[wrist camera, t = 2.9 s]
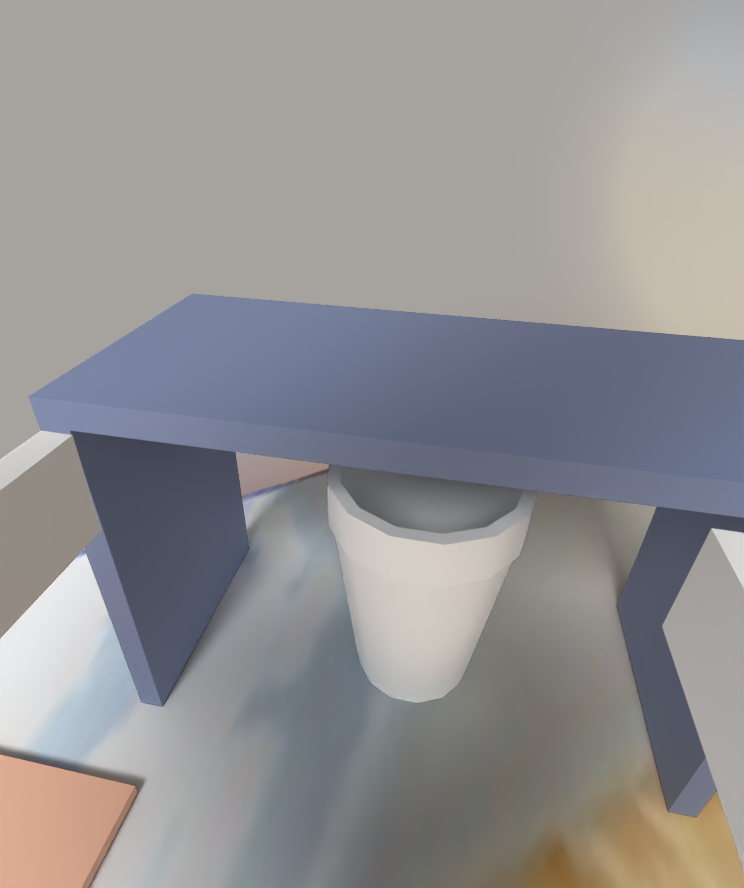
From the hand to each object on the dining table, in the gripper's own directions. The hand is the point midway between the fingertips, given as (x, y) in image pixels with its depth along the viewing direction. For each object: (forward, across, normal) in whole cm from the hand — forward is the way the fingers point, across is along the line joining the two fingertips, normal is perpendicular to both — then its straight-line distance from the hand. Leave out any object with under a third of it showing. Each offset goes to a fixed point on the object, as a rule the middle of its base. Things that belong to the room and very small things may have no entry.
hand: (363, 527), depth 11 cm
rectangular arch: (+12, +1, -19) cm, 22 cm away
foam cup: (+12, +1, -19) cm, 23 cm away
